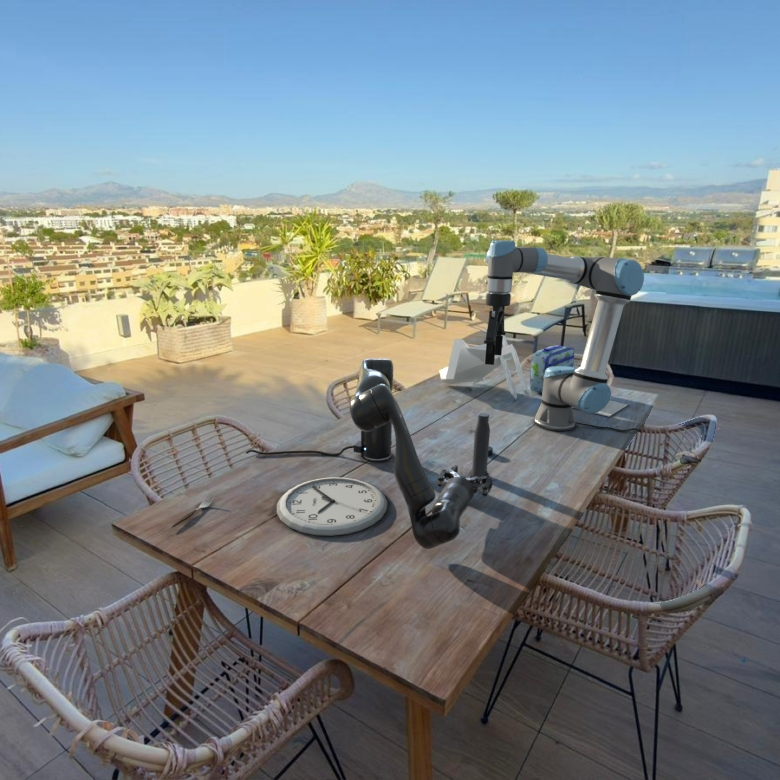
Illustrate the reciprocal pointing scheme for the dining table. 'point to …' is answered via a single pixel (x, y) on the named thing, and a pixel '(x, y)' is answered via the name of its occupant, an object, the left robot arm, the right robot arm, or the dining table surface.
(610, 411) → the invitation card
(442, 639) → the dining table surface
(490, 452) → the cap
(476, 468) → the bottle
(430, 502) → the left robot arm
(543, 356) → the lunch box
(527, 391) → the white plastic object
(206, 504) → the fork
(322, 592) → the dining table surface
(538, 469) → the dining table surface
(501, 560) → the dining table surface
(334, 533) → the wall clock
